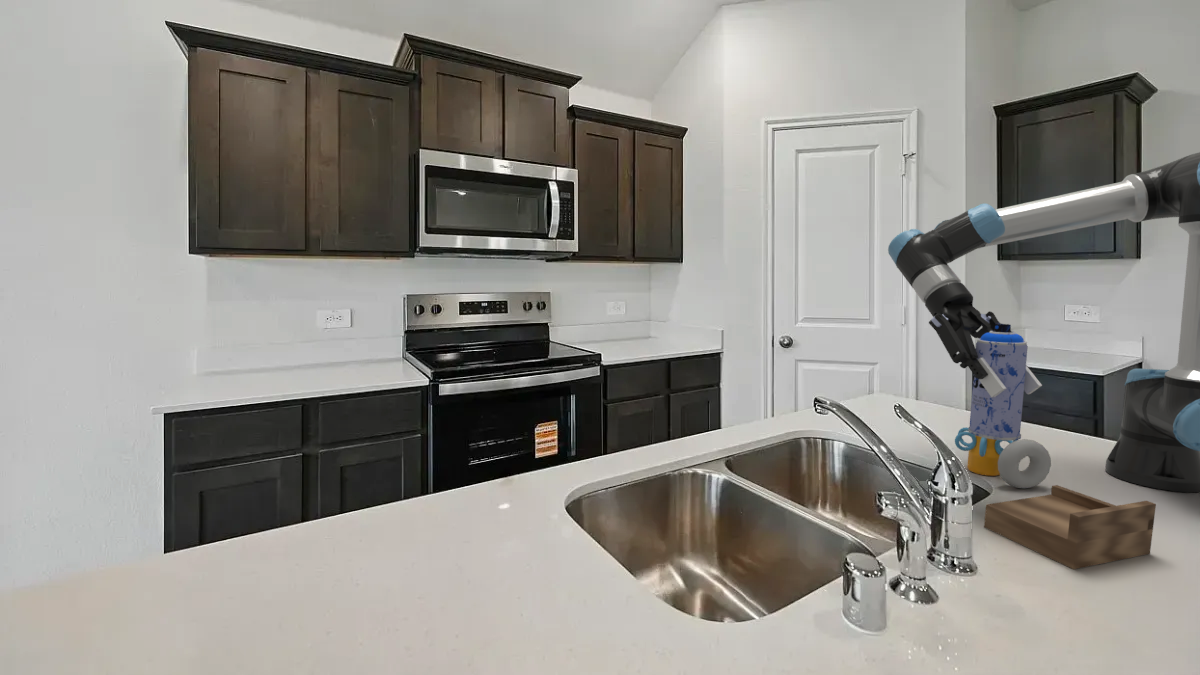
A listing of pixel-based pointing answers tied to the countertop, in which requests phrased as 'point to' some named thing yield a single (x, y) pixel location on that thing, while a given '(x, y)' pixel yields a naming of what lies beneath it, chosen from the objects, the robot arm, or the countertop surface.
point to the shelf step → (1075, 527)
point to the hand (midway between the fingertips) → (1016, 391)
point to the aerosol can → (1009, 365)
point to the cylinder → (981, 453)
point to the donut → (1033, 472)
